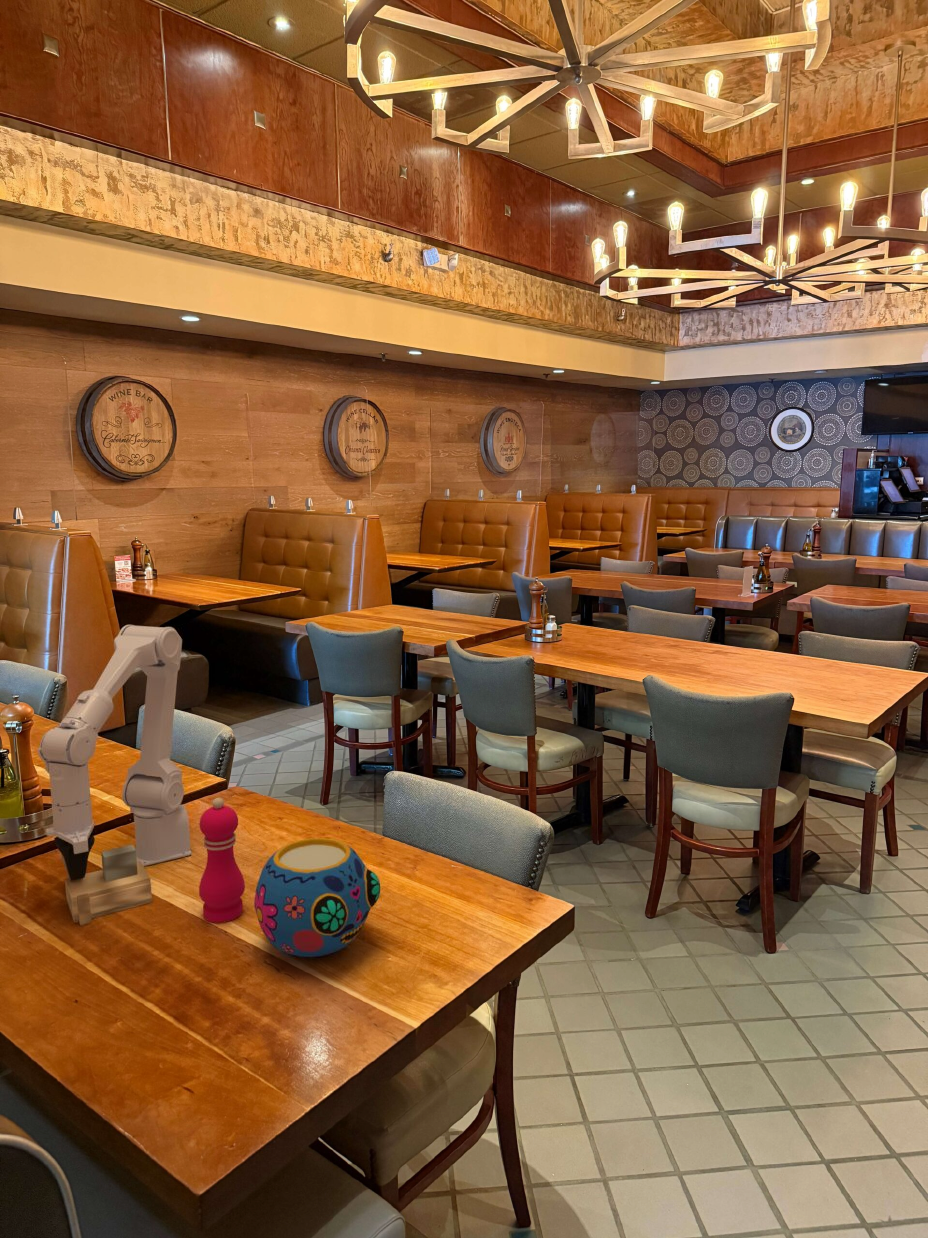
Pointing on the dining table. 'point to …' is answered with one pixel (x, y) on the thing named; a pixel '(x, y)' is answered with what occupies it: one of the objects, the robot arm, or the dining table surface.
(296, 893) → the ceramic pot
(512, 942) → the dining table surface
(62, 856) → the rectangular bar
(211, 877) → the pepper mill
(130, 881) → the lid
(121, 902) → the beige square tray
